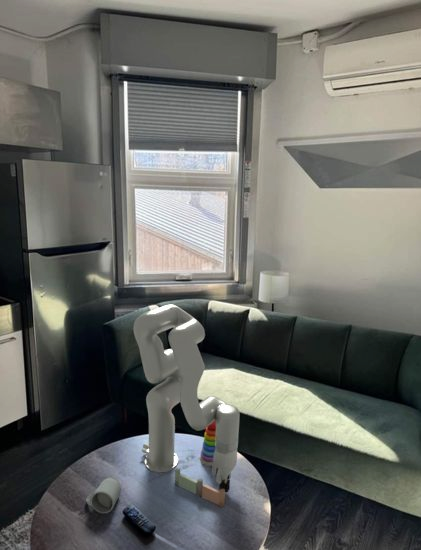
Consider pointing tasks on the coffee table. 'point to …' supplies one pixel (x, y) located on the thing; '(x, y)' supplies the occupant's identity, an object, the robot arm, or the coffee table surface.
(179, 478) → the bar
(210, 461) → the stacking toy
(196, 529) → the coffee table surface
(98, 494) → the ceramic mug
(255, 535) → the coffee table surface
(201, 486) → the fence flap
